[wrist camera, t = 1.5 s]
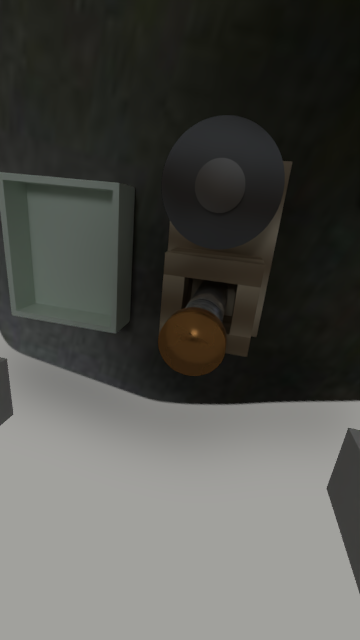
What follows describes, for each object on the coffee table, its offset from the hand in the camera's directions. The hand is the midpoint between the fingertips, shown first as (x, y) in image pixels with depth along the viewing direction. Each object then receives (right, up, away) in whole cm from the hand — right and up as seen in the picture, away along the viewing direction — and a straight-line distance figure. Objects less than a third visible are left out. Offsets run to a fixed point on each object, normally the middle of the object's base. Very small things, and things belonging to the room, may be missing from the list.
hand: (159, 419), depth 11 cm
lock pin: (+4, +7, +18) cm, 20 cm away
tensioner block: (+5, +11, +17) cm, 21 cm away
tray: (-10, +11, +21) cm, 26 cm away
